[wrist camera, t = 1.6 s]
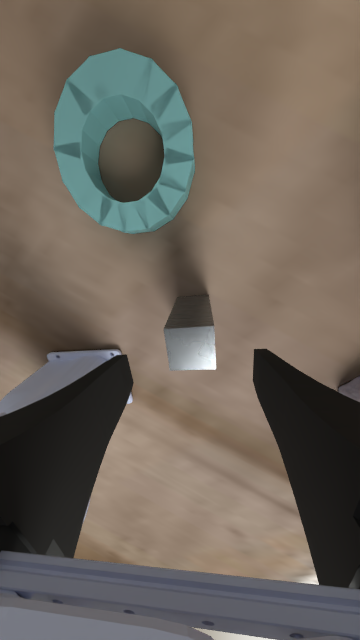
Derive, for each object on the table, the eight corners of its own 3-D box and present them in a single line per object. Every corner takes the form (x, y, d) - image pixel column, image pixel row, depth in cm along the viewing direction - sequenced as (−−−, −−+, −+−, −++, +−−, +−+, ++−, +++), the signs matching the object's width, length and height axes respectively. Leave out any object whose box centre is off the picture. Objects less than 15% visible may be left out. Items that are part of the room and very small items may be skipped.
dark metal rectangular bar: (180, 325, 21) (169, 370, 13) (177, 297, 20) (163, 329, 12) (210, 323, 20) (216, 369, 13) (208, 294, 19) (214, 325, 12)
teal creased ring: (93, 239, 18) (78, 238, 16) (58, 98, 15) (31, 70, 12) (198, 225, 17) (198, 222, 15) (188, 67, 13) (186, 29, 11)
